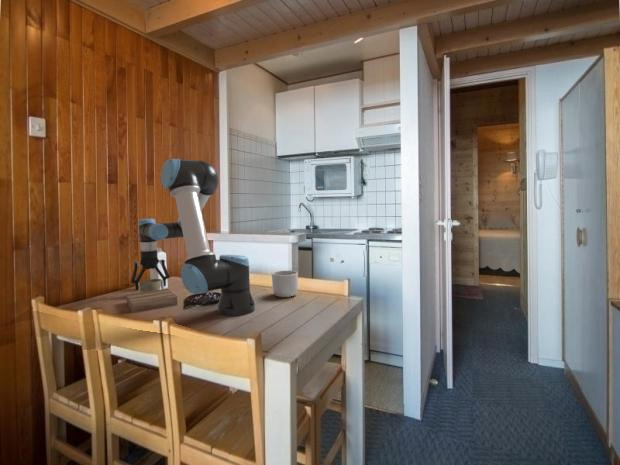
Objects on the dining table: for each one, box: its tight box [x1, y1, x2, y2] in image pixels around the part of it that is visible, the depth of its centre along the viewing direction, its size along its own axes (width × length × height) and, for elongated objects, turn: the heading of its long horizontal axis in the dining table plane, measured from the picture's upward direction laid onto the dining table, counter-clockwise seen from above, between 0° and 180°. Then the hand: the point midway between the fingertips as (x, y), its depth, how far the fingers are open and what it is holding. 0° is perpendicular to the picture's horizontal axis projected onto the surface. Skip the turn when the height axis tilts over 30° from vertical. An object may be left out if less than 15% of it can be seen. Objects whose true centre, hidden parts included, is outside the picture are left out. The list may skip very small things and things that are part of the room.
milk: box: [149, 247, 169, 290], centre depth 187 cm, size 6×6×22 cm
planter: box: [271, 270, 299, 298], centre depth 167 cm, size 12×12×11 cm
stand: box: [126, 288, 178, 314], centre depth 158 cm, size 18×18×4 cm
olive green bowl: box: [139, 279, 162, 292], centre depth 174 cm, size 10×10×7 cm
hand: (151, 294), depth 175 cm, fingers open, 10 cm apart
